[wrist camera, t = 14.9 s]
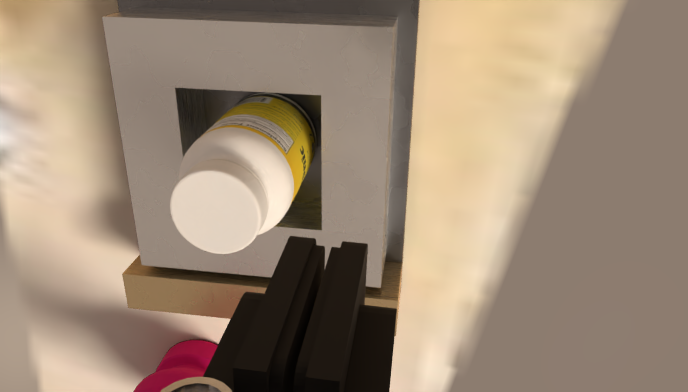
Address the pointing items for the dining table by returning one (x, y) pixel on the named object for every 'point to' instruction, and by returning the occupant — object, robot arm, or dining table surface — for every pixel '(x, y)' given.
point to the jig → (252, 78)
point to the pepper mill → (179, 365)
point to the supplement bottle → (243, 173)
